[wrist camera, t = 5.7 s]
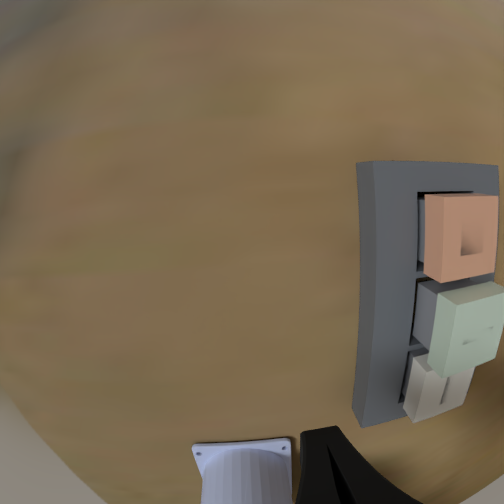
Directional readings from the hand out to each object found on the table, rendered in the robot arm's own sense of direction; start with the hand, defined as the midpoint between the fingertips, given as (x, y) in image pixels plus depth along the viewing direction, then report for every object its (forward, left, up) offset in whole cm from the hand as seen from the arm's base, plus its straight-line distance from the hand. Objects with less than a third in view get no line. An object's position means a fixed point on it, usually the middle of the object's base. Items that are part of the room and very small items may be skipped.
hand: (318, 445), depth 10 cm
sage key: (+1, -10, -8) cm, 13 cm away
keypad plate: (+1, -10, -10) cm, 14 cm away
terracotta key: (+6, -10, -10) cm, 15 cm away
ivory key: (-4, -10, -10) cm, 14 cm away
